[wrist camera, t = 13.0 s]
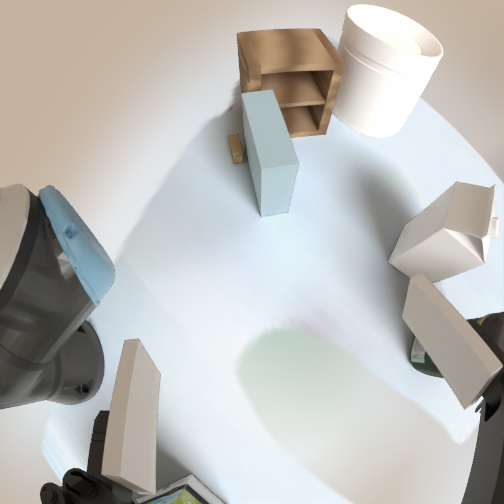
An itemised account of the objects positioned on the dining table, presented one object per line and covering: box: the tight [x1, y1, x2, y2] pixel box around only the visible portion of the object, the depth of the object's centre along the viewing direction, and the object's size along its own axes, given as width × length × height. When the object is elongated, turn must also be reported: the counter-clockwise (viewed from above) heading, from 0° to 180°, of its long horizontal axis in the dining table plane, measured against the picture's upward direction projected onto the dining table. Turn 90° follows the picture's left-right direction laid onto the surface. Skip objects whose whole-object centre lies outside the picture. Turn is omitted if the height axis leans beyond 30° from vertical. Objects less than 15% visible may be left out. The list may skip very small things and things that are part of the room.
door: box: [241, 89, 299, 217], centre depth 36 cm, size 4×12×13 cm, turn 11°
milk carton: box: [388, 182, 499, 283], centre depth 30 cm, size 7×7×19 cm
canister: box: [332, 4, 443, 137], centre depth 37 cm, size 16×16×20 cm
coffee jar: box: [411, 312, 504, 378], centre depth 26 cm, size 10×8×19 cm
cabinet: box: [229, 29, 346, 164], centre depth 38 cm, size 16×14×16 cm
